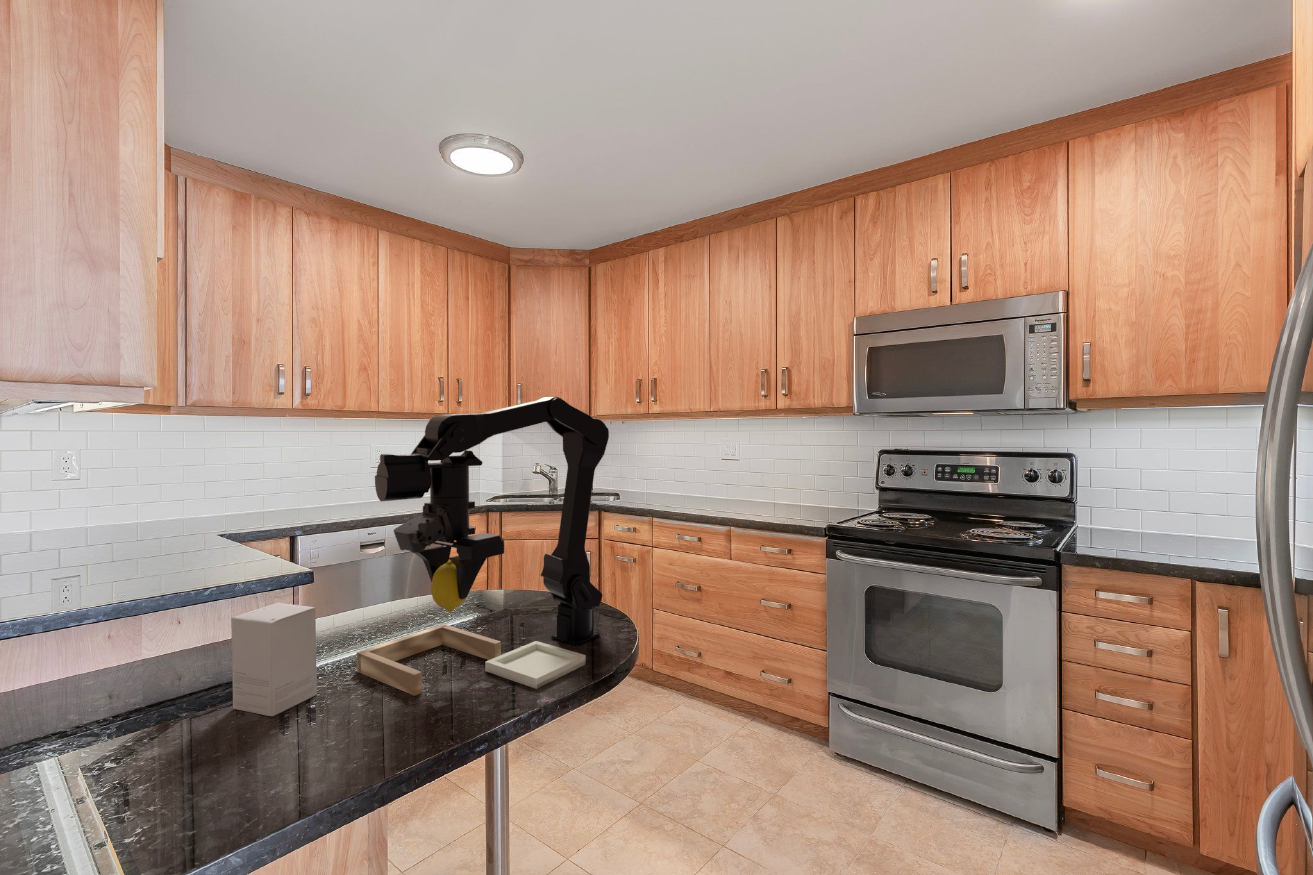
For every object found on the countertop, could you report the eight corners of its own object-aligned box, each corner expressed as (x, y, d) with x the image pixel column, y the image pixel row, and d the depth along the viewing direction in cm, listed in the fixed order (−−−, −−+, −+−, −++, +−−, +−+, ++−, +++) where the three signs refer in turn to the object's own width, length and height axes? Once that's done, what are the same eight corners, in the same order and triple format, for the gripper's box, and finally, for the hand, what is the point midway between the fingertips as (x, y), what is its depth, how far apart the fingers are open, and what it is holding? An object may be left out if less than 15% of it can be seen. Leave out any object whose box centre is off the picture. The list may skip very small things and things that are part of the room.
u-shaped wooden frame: (443, 640, 109) (443, 624, 109) (500, 659, 101) (500, 641, 101) (356, 671, 96) (356, 652, 96) (414, 695, 88) (414, 674, 88)
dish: (535, 649, 106) (535, 640, 105) (585, 664, 99) (585, 655, 99) (485, 671, 96) (485, 661, 96) (536, 688, 90) (536, 678, 90)
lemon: (457, 618, 93) (457, 566, 93) (424, 616, 94) (423, 564, 94) (475, 607, 99) (475, 557, 98) (443, 605, 100) (443, 556, 99)
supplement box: (318, 694, 88) (318, 606, 87) (271, 718, 81) (270, 622, 80) (280, 686, 90) (279, 600, 90) (230, 709, 83) (229, 616, 83)
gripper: (366, 496, 94) (367, 597, 95) (444, 507, 84) (445, 621, 84) (429, 489, 103) (430, 581, 104) (506, 498, 93) (507, 600, 94)
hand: (450, 595), depth 96 cm, fingers closed on lemon, 6 cm apart
